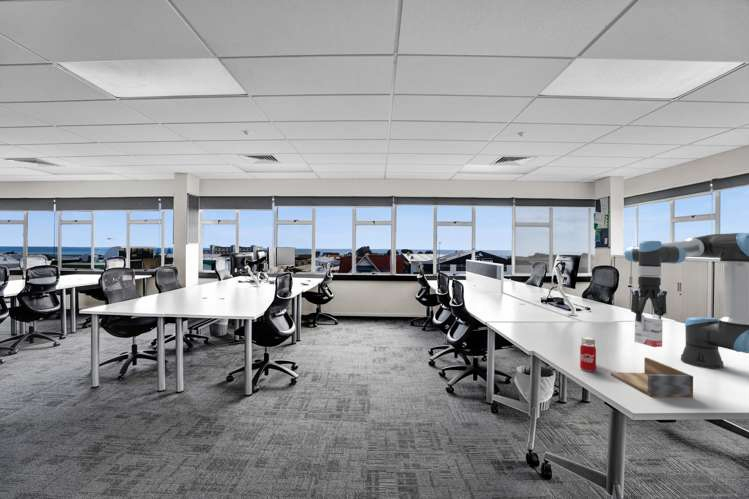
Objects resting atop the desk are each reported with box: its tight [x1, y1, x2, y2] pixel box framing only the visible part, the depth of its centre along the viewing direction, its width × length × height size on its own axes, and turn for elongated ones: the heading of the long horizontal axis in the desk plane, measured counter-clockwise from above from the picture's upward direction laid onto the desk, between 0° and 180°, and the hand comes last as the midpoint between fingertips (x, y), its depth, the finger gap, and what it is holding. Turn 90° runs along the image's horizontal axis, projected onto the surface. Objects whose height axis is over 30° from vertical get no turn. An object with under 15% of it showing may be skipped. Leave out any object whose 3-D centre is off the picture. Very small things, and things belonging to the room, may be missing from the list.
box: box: [581, 336, 596, 346], centre depth 162 cm, size 5×4×13 cm
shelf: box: [610, 357, 694, 399], centre depth 137 cm, size 16×22×8 cm
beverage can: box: [579, 342, 597, 373], centre depth 154 cm, size 6×6×12 cm
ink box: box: [634, 315, 664, 348], centre depth 142 cm, size 8×5×12 cm, turn 13°
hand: (648, 329), depth 142 cm, fingers closed on ink box, 6 cm apart
